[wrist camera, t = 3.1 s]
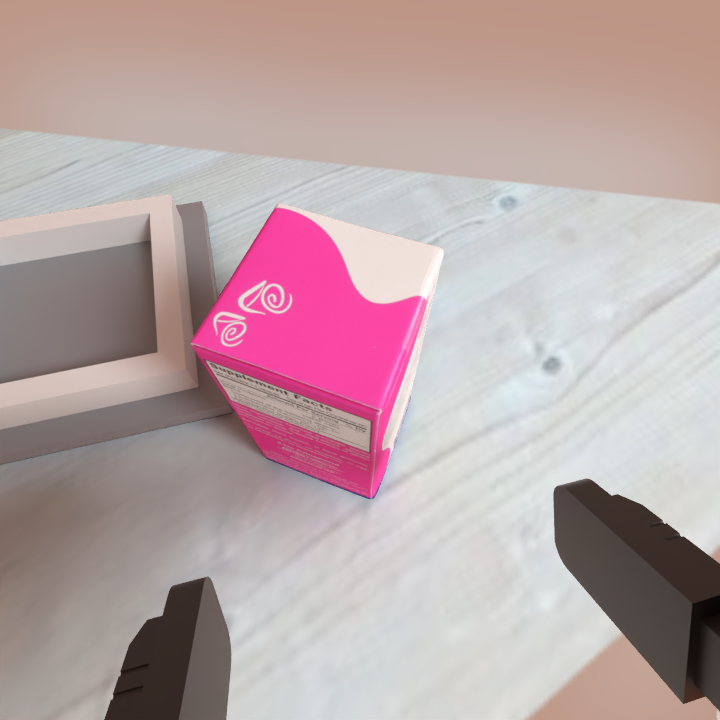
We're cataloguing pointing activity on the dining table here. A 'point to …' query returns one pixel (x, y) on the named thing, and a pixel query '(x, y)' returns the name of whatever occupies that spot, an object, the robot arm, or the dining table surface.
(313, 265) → the supplement box
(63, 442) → the socket
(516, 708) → the dining table surface
